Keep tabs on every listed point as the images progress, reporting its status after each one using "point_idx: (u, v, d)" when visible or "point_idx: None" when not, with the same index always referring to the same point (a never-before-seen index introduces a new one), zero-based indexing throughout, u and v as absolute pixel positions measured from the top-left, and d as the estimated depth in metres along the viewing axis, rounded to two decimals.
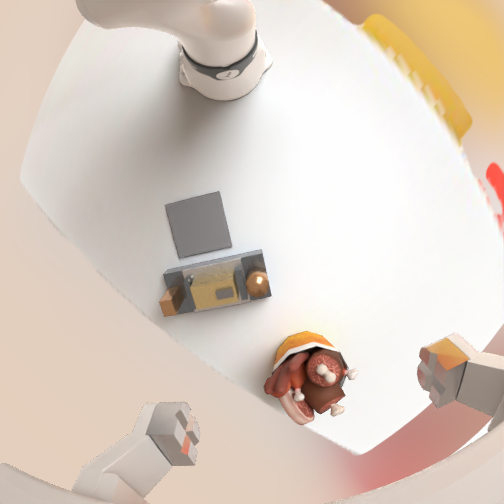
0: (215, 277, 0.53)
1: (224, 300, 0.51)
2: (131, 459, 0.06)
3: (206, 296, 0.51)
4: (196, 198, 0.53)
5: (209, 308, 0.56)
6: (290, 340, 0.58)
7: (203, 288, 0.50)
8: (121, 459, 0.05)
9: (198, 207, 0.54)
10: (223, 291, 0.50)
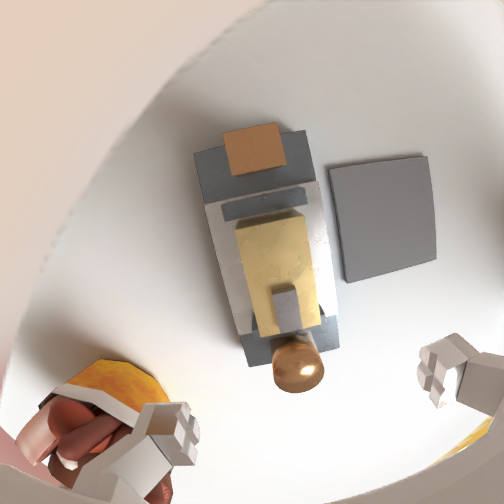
0: None
1: (264, 306, 0.19)
2: (131, 459, 0.06)
3: (276, 260, 0.18)
4: (432, 218, 0.25)
5: (217, 243, 0.22)
6: (155, 394, 0.26)
7: (300, 253, 0.18)
8: (121, 459, 0.05)
9: (419, 221, 0.25)
10: (297, 311, 0.18)
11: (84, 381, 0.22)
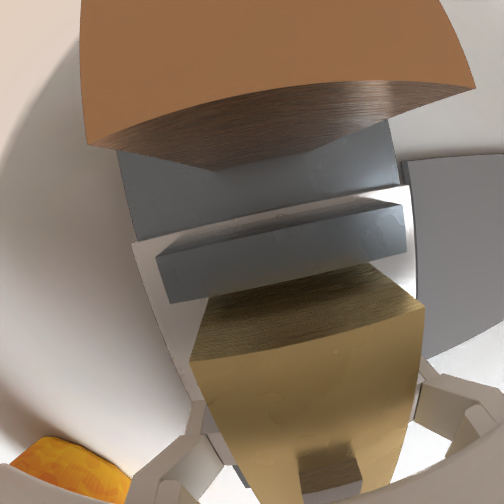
0: None
1: (278, 490, 0.06)
2: (187, 462, 0.06)
3: (322, 427, 0.05)
4: None
5: (168, 333, 0.09)
6: (115, 495, 0.13)
7: (389, 404, 0.05)
8: (178, 463, 0.05)
9: None
10: None
11: None
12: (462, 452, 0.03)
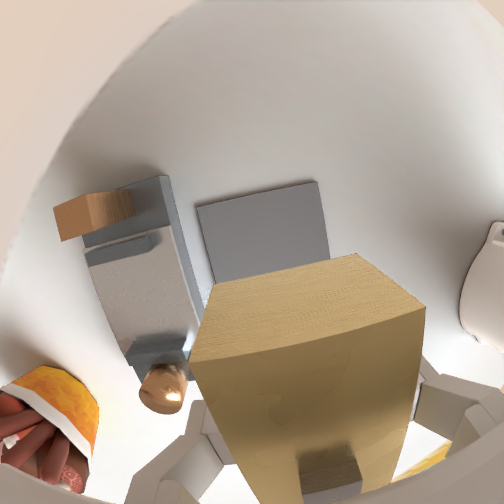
0: None
1: (278, 491, 0.06)
2: (187, 462, 0.06)
3: (322, 427, 0.05)
4: (326, 250, 0.26)
5: (95, 281, 0.23)
6: (78, 398, 0.27)
7: (389, 405, 0.05)
8: (178, 463, 0.05)
9: (307, 255, 0.26)
10: None
11: (24, 382, 0.23)
12: (462, 452, 0.03)
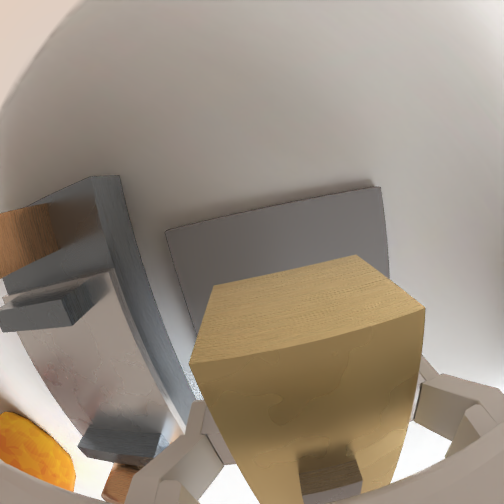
0: None
1: (278, 491, 0.06)
2: (187, 462, 0.06)
3: (322, 428, 0.05)
4: None
5: (25, 344, 0.12)
6: (45, 458, 0.17)
7: (389, 405, 0.05)
8: (178, 463, 0.05)
9: None
10: None
11: None
12: (462, 452, 0.03)
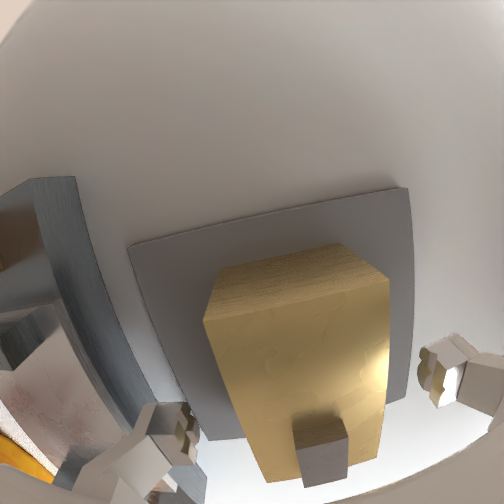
0: None
1: (275, 451, 0.08)
2: (131, 459, 0.06)
3: (310, 383, 0.07)
4: (407, 332, 0.11)
5: None
6: None
7: (366, 365, 0.07)
8: (121, 459, 0.05)
9: None
10: (343, 462, 0.07)
11: None
12: (462, 452, 0.03)
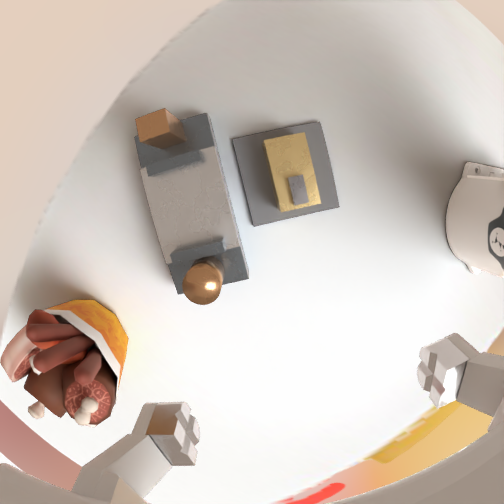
0: None
1: (282, 188, 0.29)
2: (131, 459, 0.06)
3: (289, 158, 0.29)
4: (329, 171, 0.33)
5: (148, 194, 0.30)
6: (111, 323, 0.34)
7: (303, 154, 0.29)
8: (121, 459, 0.05)
9: (316, 174, 0.33)
10: (304, 189, 0.29)
11: (59, 308, 0.30)
12: (462, 452, 0.03)
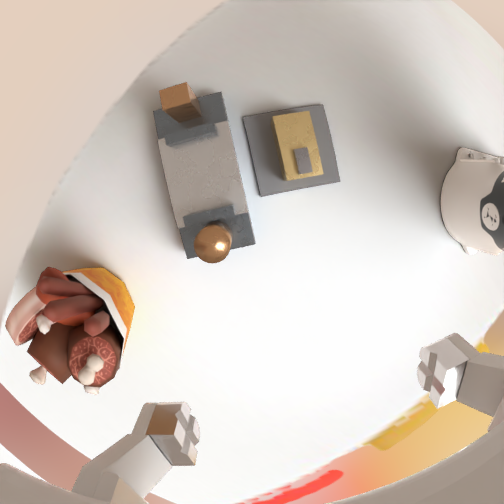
0: None
1: (289, 159, 0.32)
2: (131, 459, 0.06)
3: (295, 133, 0.31)
4: (331, 149, 0.35)
5: (164, 163, 0.32)
6: (120, 288, 0.37)
7: (308, 130, 0.31)
8: (121, 459, 0.05)
9: (319, 151, 0.35)
10: (308, 160, 0.31)
11: None
12: (462, 452, 0.03)
